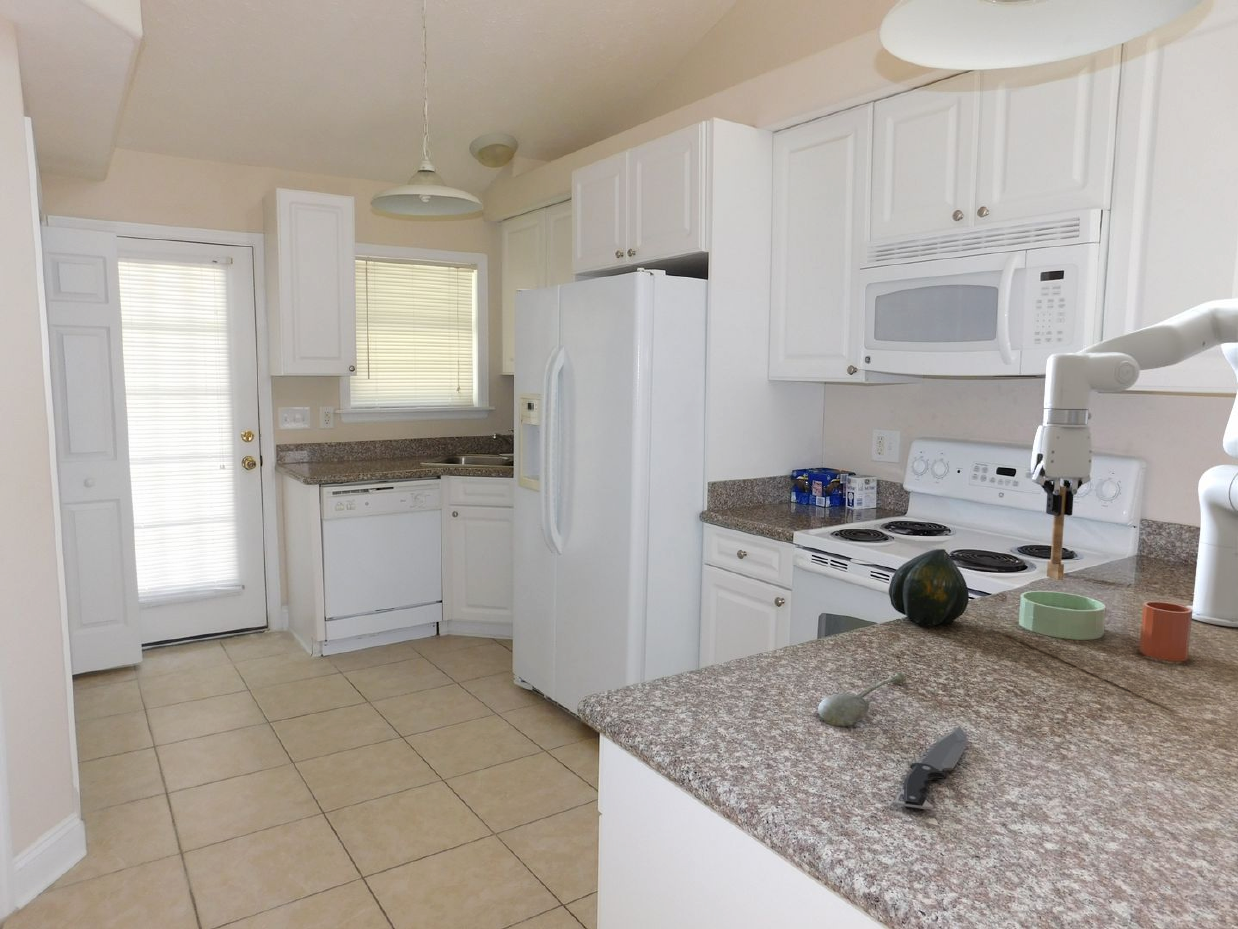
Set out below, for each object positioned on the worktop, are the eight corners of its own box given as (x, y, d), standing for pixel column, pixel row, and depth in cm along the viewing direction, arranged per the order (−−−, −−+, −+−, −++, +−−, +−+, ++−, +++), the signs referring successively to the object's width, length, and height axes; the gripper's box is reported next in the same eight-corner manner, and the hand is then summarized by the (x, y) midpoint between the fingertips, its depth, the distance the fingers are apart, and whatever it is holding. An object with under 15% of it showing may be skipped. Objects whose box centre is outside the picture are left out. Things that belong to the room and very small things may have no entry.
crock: (1162, 649, 145) (1166, 600, 144) (1197, 663, 138) (1202, 611, 137) (1129, 651, 143) (1133, 602, 142) (1163, 665, 137) (1168, 613, 136)
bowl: (1063, 618, 163) (1066, 589, 163) (1121, 641, 149) (1124, 609, 149) (1002, 621, 160) (1004, 592, 159) (1055, 644, 146) (1057, 612, 146)
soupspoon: (807, 721, 112) (851, 738, 108) (809, 698, 111) (853, 715, 107) (881, 676, 128) (921, 689, 123) (883, 656, 127) (923, 668, 123)
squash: (872, 596, 156) (931, 543, 151) (878, 582, 170) (932, 533, 165) (927, 652, 152) (990, 600, 148) (929, 633, 166) (986, 585, 162)
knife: (986, 736, 106) (947, 726, 109) (987, 729, 106) (947, 719, 109) (927, 819, 86) (880, 803, 89) (928, 810, 86) (881, 795, 89)
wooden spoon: (1045, 576, 158) (1051, 484, 156) (1053, 576, 158) (1059, 484, 156) (1056, 580, 155) (1062, 486, 153) (1064, 579, 155) (1070, 486, 154)
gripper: (1085, 417, 159) (1079, 510, 161) (1015, 417, 155) (1009, 512, 157) (1116, 419, 151) (1109, 516, 153) (1043, 419, 148) (1037, 519, 150)
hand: (1059, 513), depth 155 cm, fingers closed on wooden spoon, 1 cm apart
